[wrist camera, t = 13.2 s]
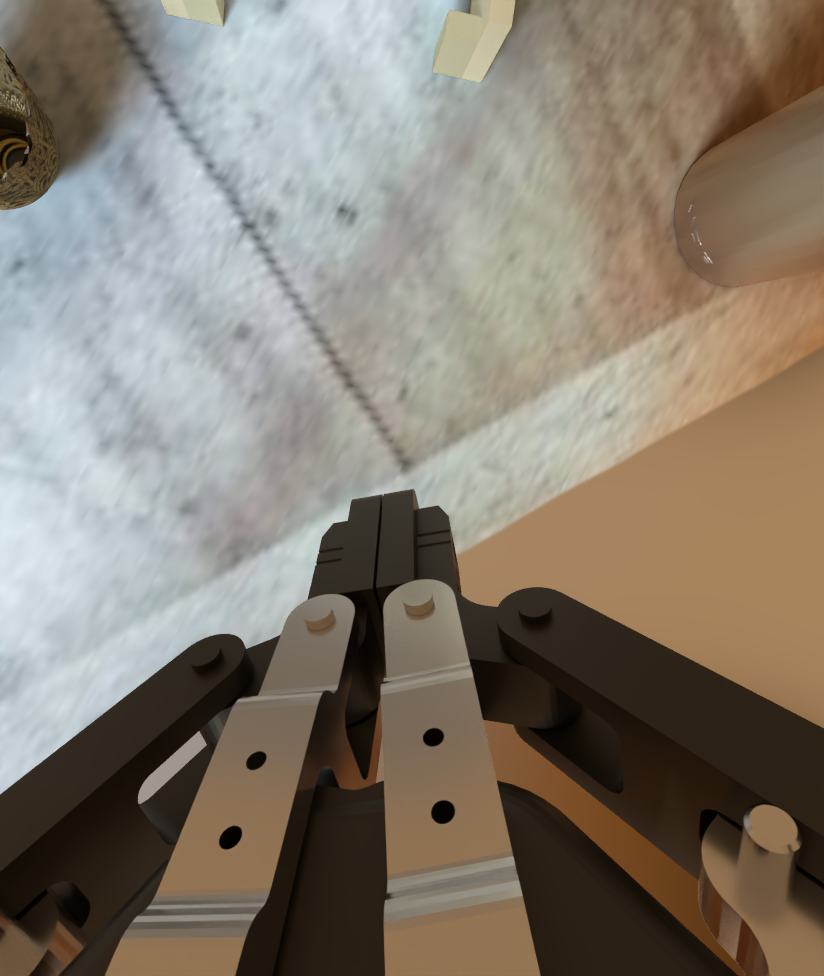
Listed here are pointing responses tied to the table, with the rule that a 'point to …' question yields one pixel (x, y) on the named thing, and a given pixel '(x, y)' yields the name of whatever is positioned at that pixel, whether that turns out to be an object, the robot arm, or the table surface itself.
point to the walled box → (459, 46)
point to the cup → (24, 141)
